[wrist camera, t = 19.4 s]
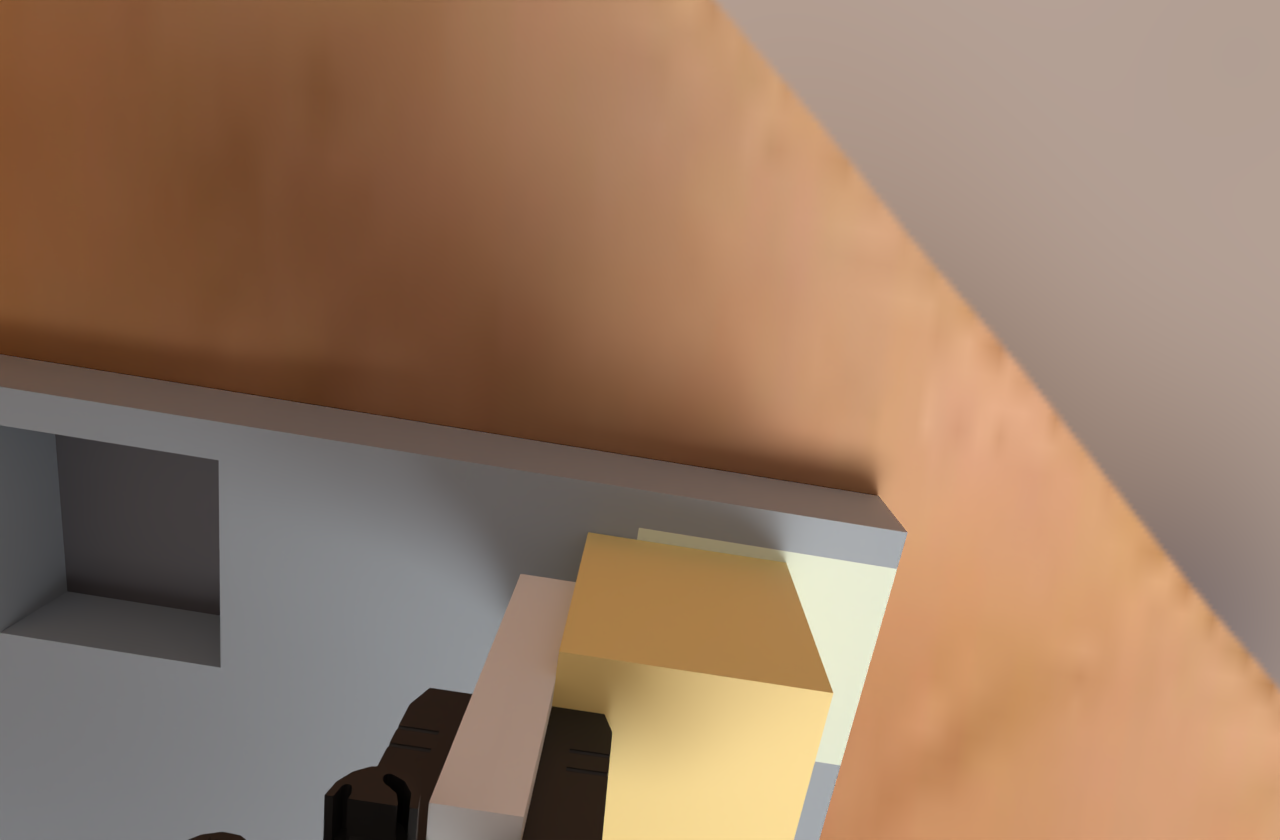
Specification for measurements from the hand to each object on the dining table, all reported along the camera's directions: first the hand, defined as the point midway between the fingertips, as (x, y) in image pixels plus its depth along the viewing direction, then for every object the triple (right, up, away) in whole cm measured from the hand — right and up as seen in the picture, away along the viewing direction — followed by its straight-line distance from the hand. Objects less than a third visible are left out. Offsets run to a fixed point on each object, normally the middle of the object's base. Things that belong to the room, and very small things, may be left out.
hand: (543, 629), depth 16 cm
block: (+3, -1, +2) cm, 4 cm away
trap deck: (-5, -2, +5) cm, 7 cm away
